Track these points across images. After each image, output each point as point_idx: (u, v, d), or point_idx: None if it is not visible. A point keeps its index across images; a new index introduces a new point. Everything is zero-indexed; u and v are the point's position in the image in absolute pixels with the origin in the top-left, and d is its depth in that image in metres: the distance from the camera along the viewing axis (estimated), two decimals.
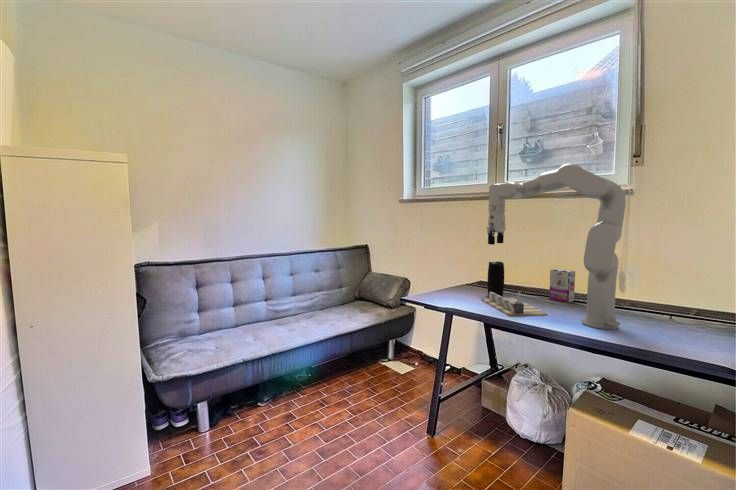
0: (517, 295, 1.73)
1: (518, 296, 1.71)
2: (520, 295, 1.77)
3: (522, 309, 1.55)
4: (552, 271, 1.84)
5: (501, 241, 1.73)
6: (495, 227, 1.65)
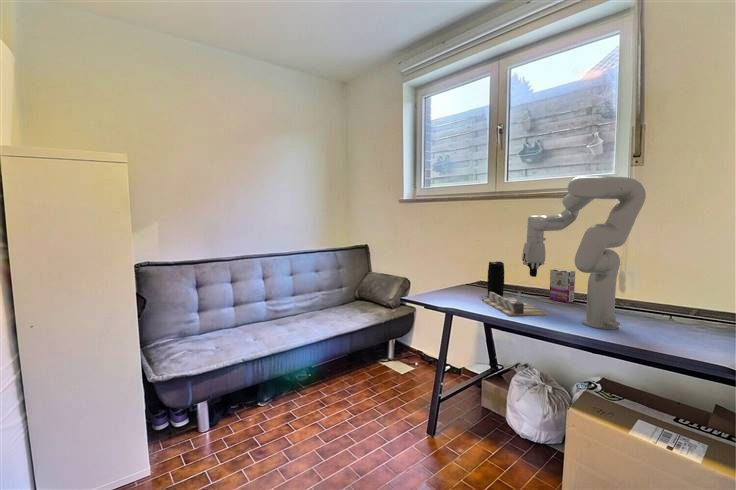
0: (517, 295, 1.73)
1: (518, 296, 1.71)
2: (520, 295, 1.77)
3: (522, 309, 1.55)
4: (552, 271, 1.84)
5: None
6: None
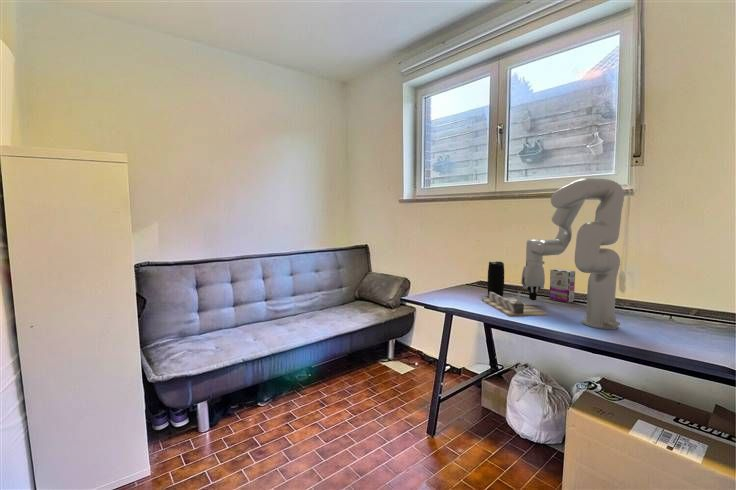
0: (517, 295, 1.73)
1: (518, 296, 1.71)
2: (520, 295, 1.77)
3: (522, 309, 1.55)
4: (552, 271, 1.84)
5: None
6: None
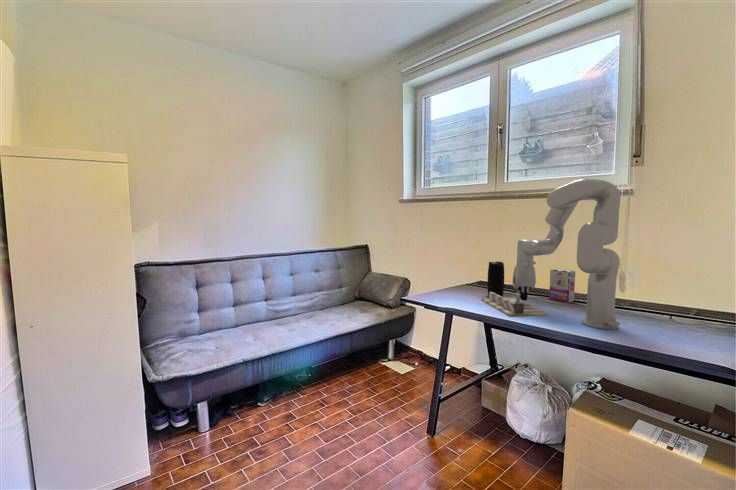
0: (516, 295, 1.73)
1: (517, 296, 1.71)
2: None
3: (522, 309, 1.55)
4: (552, 271, 1.84)
5: None
6: None
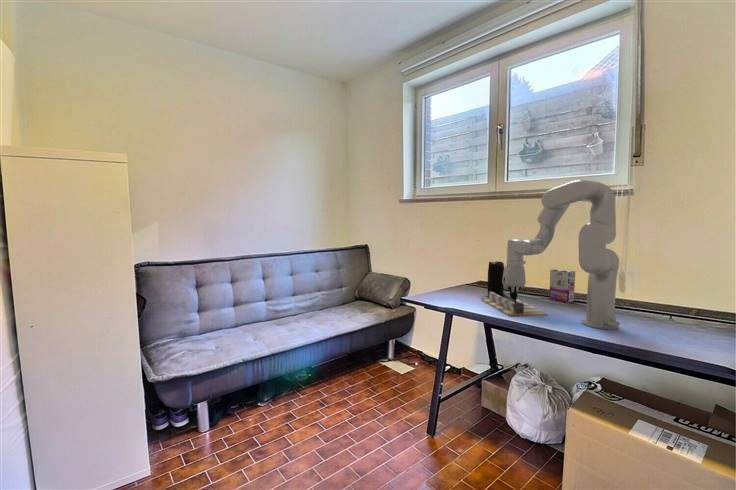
0: (506, 294, 1.74)
1: (508, 295, 1.72)
2: None
3: (522, 309, 1.55)
4: (552, 271, 1.84)
5: None
6: None
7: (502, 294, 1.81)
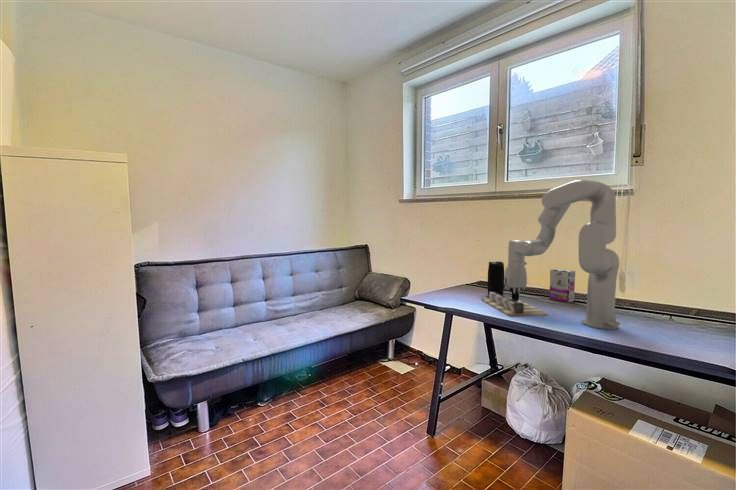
0: None
1: (502, 295, 1.72)
2: None
3: (522, 309, 1.55)
4: (552, 271, 1.84)
5: None
6: None
7: None
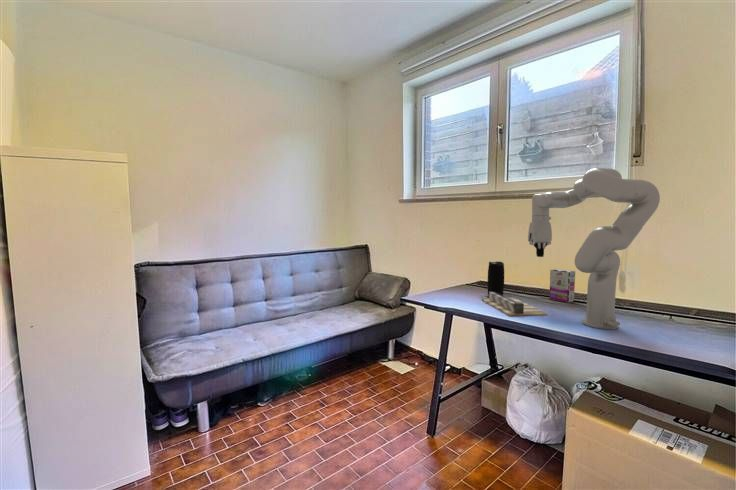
0: None
1: (502, 295, 1.72)
2: None
3: (522, 309, 1.55)
4: (552, 271, 1.84)
5: None
6: None
7: None
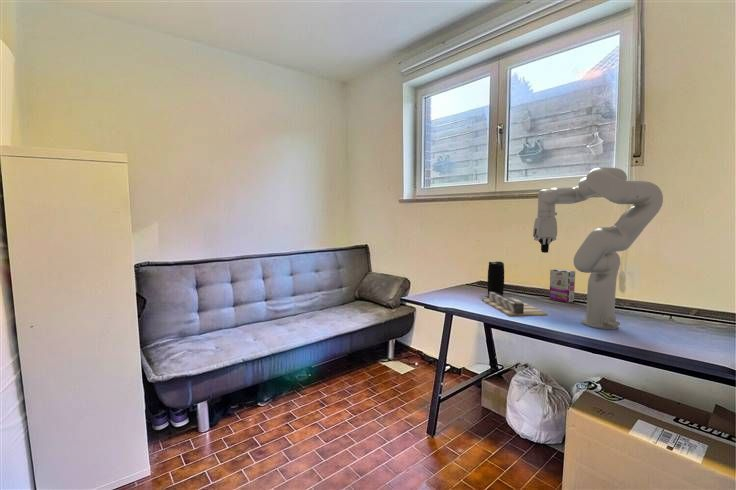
0: None
1: (502, 295, 1.72)
2: None
3: (522, 309, 1.55)
4: (552, 271, 1.84)
5: None
6: None
7: None
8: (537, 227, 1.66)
